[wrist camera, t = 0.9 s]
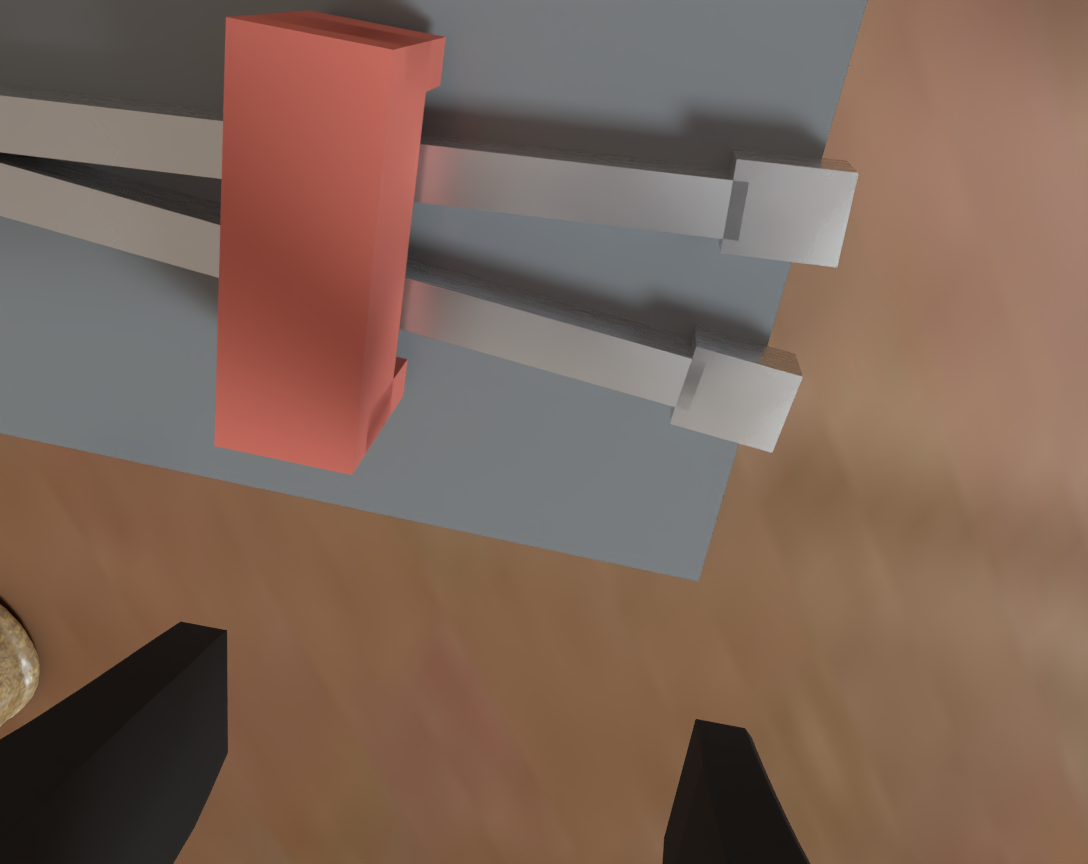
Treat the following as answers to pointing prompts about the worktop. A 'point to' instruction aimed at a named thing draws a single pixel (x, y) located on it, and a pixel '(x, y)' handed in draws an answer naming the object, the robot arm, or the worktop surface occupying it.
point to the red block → (316, 230)
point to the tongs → (475, 183)
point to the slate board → (440, 260)
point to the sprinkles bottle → (15, 666)
